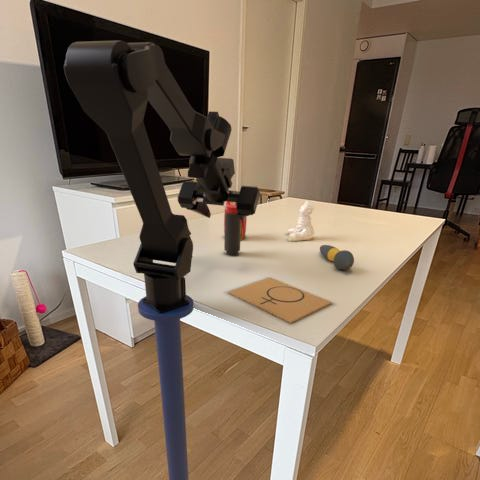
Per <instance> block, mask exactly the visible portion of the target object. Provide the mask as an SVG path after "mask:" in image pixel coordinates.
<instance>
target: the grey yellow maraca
mask: <svg viewBox="0 0 480 480" xmlns="http://www.w3.org/2000/svg"><path fill="white" fill-rule="evenodd" d="M319 251H320V253H321V255H322V256H323V257H324V258H325V259H327V260H329V261H330V262H333V265H334V267H335V268H336V269H337V270H340V271H347V270H349V269H351V268H352V267H353V265H354V263H355V258H354V255H353V253H352V252H351V251H349V250H346V249H345V250H343V249H342V250H340V249H339V248H338V247H335V246H333V245H329V244H323V245H320V246H319Z"/></svg>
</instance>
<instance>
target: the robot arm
mask: <svg viewBox="0 0 480 480" xmlns="http://www.w3.org/2000/svg"><path fill="white" fill-rule="evenodd" d="M165 59H166V58H165V56H164V52H163V50H162V48H161V47H160V46H159V45H158V44H155V43H153V42H151V41H145V42H126V41H124V40H93V41H75V42H72V43H71V44H70V45H69V46H68V47H67V51H66V54H65V60H64V64H63V71H64V75H65V77H66V81H67V83H68V86H69V88H70V89H71V91H72V93H73V94H74V96H75V98H76V100H77V101H78V103H79V105H80V106H81V108H82V110H83V112H84V113H85V114H86V115H87V116H88V117H89V118H90V119H91V120H92V121H93V122H94V123H95V124H96V125H97V126H98V127H100V129H101V130H103V131H104V133H105V134H106V135H107V138H108V141H109V143H110V146H111V148H112V151H113V152H114V155H115V157H116V160H117V163H118V164H119V167H120V170H121V172H122V175H123V177H124V179H125V182H126V184H127V187H128V189H129V192H130V194H131V196H132V199H133V201H134V204H135V207H136V209H137V211H138V214H139V216H140V219H141V222H142V226H141V229H140V232H139V236H138V237H139V241H140V244H139V246H138V250H137V253H136V255H135V257H134V261H133V263H132V264H133V268H134V270H135V273H136V274H143V277H144V279H143V280H144V287H145V296H146V298H145V299H143V303H145V304H146V305H148V306H149V307H151V308H152V309H154V310H155V311H157V312H158V313H165V312H168V311H171V310H174V309H177V308H180V307H183V306H186V305H188V304H189V301H188V300H186V299H184V298H186V295H187V285H186V277H185V276H187V275H188V274H190V272H191V270H192V261H193V253H194V242H193V239H192V237H191V235H192V232H191V231H190V228H189V223H188V220H187V218H186V216H185V215H183V214H175V213H173V211H172V209H171V205H170V202H169V200H168V195H167V193H166V189H165V187H164V184H163V183H164V182H163V180H162V177H161V173H160V170H159V168H158V165H157V161H156V158H155V155H154V152H153V149H152V145H151V142H150V139H149V136H148V133H147V130H146V126H145V121H144V118H145V114H146V110H147V106H148V102H149V104H150V105H151V106H152V108H153V109H154V110H155V111H156V113H157V114H158V115H159V117H160V118H161V119H162V120H163V122H164V123H165V125H166V126H167V127H168V129H169V131H170V135H169V140H170V142H171V144H172V146H173V148H174V149H175V151H176V152H177V154H178V155H179V156H183V157H186V156H187V157H190V158H189V161H188V164H189V168H188V170H187V177H188V179H190V178H191V179H196V181H194V180H193V181H192V180H184V181H183V182H182V183H181V185H180V188H179V191H178V195H177V203H178V204H179V206H180V207H181V208H182V209H186V210H187V211H192V212H194V213H197V214H199V215H201V216H203V217H206V218H208V219H210V218H211V217H212V216H211V215H212V213H211V211H210V208H209V206H208V205H212V206H222V207H225V203H226V202H227V201H229V202H237V205H236V209H237V212H238V213H237V215H238V216H239V218H240V220H241V221H242V222H244V220H245V216H247V217H249V216H253V215H255V214H256V210H257V208H258V204H259V201H260V197H261V192H260V191H261V190H260V188H259V187H258V186H254V185H253V186H251V185H250V186H249V185H241V187H240V189H239V190H230V189H231V188H232V186H233V182H232V179H233V177H234V175H236V169H235V161H234V159H233V158H229V157H224V155H225V153H226V149H227V146H228V143H229V140H230V137H231V133H232V125H231V123H229V121H228V120H227V119H226V118H225V117H223V116H220V114H219V112H218V111H210V110H209V111H208V113H207V116H205V115H204V114H201V112H197V111H195V109H194V108H193V107H192V105H191V104H190V103H189V101H188V99H187V97H186V95H185V94H184V92H183V91H182V89H181V87H180V85H179V84H178V82H177V80H176V79H175V77H174V76H173V74H172V72H171V71H170V69H169V67H168V66H167V64H166V60H165ZM154 261H158V262H154ZM159 262H164V263H159ZM166 263H170V264H166ZM171 264H173V265H171Z"/></svg>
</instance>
